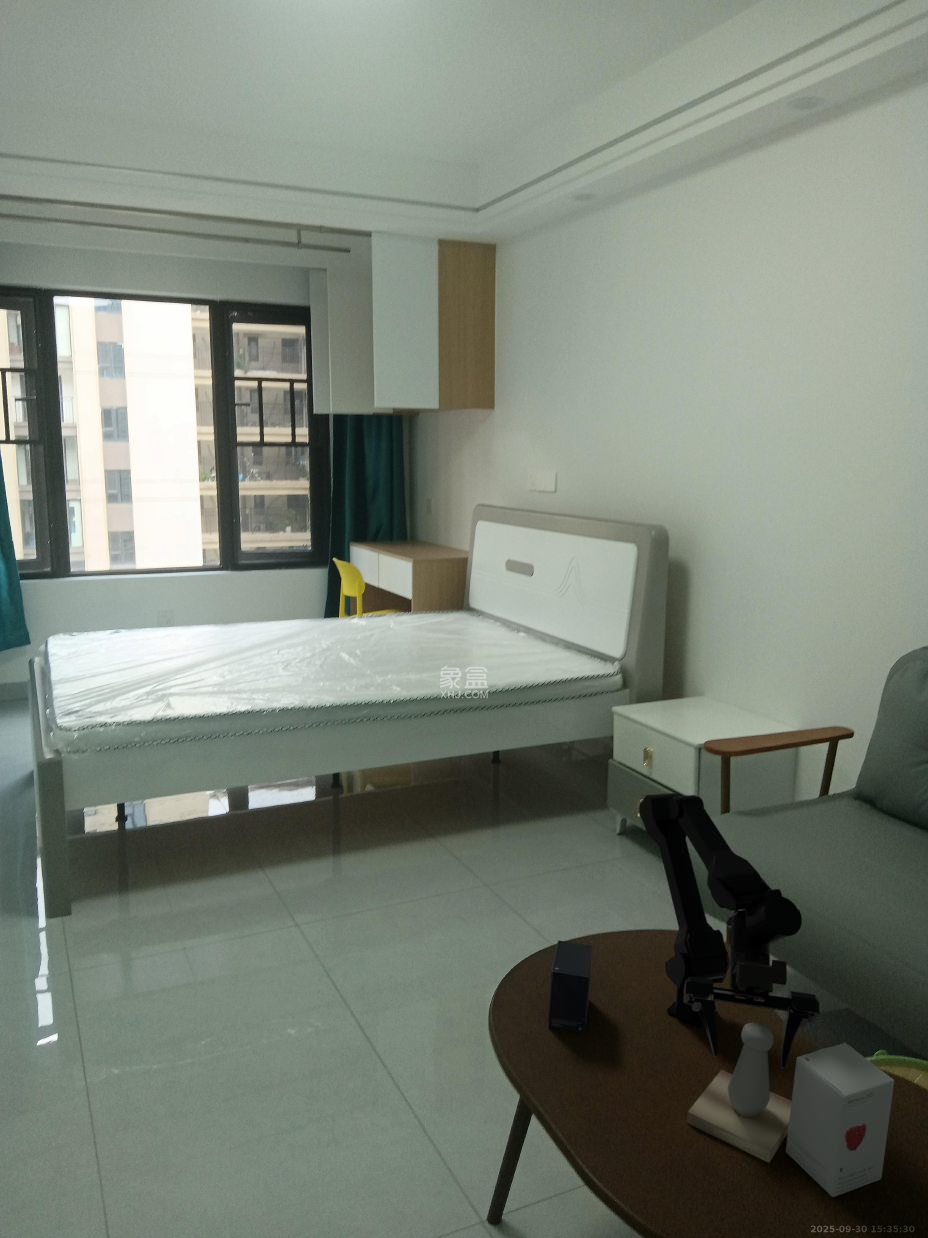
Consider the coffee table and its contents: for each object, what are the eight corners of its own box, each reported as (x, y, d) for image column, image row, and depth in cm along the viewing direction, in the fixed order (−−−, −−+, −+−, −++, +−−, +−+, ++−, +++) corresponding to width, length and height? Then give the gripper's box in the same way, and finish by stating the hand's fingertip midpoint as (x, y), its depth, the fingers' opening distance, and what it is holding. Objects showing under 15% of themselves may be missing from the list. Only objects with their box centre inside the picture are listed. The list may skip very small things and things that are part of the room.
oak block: (719, 1084, 145) (721, 1070, 144) (798, 1120, 138) (799, 1105, 137) (686, 1127, 135) (687, 1112, 135) (768, 1167, 128) (770, 1151, 128)
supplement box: (832, 1200, 122) (844, 1097, 119) (783, 1153, 130) (793, 1055, 127) (884, 1180, 126) (897, 1080, 123) (833, 1135, 134) (844, 1040, 131)
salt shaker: (774, 1110, 136) (787, 1031, 133) (754, 1129, 132) (768, 1048, 129) (737, 1087, 140) (750, 1010, 137) (717, 1105, 136) (730, 1026, 133)
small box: (586, 1035, 155) (589, 976, 153) (546, 1029, 156) (549, 971, 154) (590, 999, 165) (594, 944, 163) (553, 993, 166) (556, 939, 165)
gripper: (690, 926, 138) (684, 1039, 129) (824, 944, 134) (828, 1062, 125) (685, 948, 147) (680, 1055, 138) (811, 966, 143) (814, 1077, 134)
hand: (749, 1062), depth 134 cm, fingers open, 9 cm apart
